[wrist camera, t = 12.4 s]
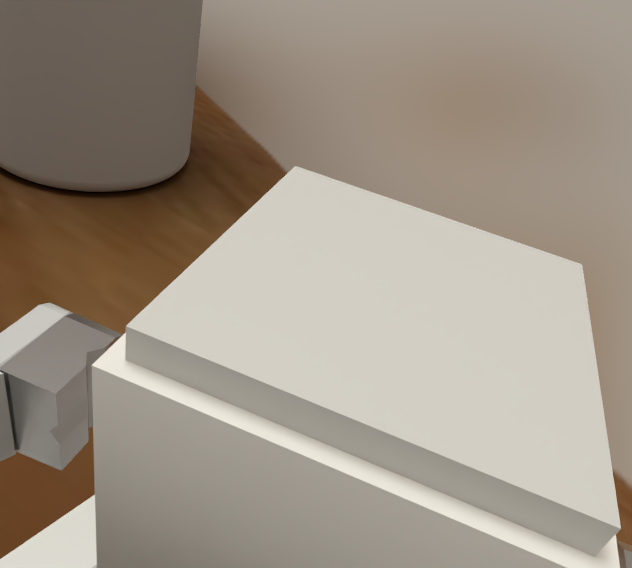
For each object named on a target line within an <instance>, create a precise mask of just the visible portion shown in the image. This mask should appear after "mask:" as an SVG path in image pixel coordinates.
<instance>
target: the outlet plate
mask: <svg viewBox="0 0 632 568" xmlns="http://www.w3.org/2000/svg"><path fill="white" fill-rule="evenodd" d="M0 568H97V554H96V516H95V495H94V496H92V497H91V498H89V499H88V500H86V501H85V502H83V503H82V504H80V505H79V506H78V507H76V508H75V509H73V510H72V511H70V512H69V513H67V514H66V515H64V516H63V517H61V518H60V519H59V520H57V521H56V522H54V523H53V524H51V525H50V526H48V527H47V528H45V529H44V530H42V531H41V532H40V533H38V534H37V535H35V536H34V537H32V538H31V539H29V540H28V541H26V542H25V543H23V544H22V545H21V546H19V547H18V548H16V549H15V550H13V551H12V552H10V553H9V554H7V555H6V556H4V557H3V558H2V559H0Z"/></svg>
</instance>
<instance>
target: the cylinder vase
mask: <svg viewBox="0 0 632 568" xmlns="http://www.w3.org/2000/svg"><path fill="white" fill-rule="evenodd" d="M202 2H203V0H0V167H2V168H3V169H5V170H7V171H8V172H10V173H12V174H14V175H16V176H19V177H21V178H24V179H26V180H29V181H32V182H35V183H39V184H42V185H46V186H51V187H56V188H61V189H68V190H76V191H89V192H112V191H124V190H132V189H138V188H142V187H147V186H150V185H153V184H156V183H159V182H161V181H164V180H166V179H168V178H170V177H171V176H173V175H174V174H176V173H177V172H178V171H179V170H180V169H181V168H182V167H183V166H184V164H185V163H186V161H187V159H188V156H189V152H190V141H191V130H192V118H193V107H194V95H195V83H196V72H197V60H198V48H199V37H200V26H201V13H202Z"/></svg>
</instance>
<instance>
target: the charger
mask: <svg viewBox="0 0 632 568" xmlns="http://www.w3.org/2000/svg"><path fill="white" fill-rule="evenodd" d="M92 402H93V440H94V478H95V516H96V554H97V568H620V563H619V556H618V548H617V541H616V533H617V532H618V531H619V530H620V529H621V526H620V520H619V513H618V506H617V499H616V492H615V486H614V479H613V472H612V465H611V459H610V452H609V445H608V438H607V432H606V424H605V418H604V411H603V404H602V398H601V390H600V384H599V377H598V370H597V363H596V356H595V350H594V343H593V337H592V330H591V323H590V316H589V309H588V302H587V296H586V288H585V282H584V275H583V268H582V264H579V263H576V262H573V261H570V260H567V259H564V258H561V257H559V256H555V255H553V254H549V253H547V252H544V251H541V250H538V249H535V248H532V247H529V246H526V245H524V244H521V243H518V242H515V241H512V240H509V239H506V238H503V237H500V236H498V235H494V234H492V233H489V232H486V231H483V230H480V229H477V228H474V227H471V226H469V225H465V224H462V223H460V222H457V221H454V220H451V219H448V218H445V217H442V216H439V215H437V214H434V213H431V212H428V211H425V210H422V209H419V208H416V207H413V206H410V205H407V204H405V203H401V202H399V201H396V200H393V199H390V198H387V197H384V196H381V195H378V194H376V193H372V192H369V191H367V190H364V189H361V188H358V187H355V186H352V185H349V184H346V183H343V182H341V181H338V180H334V179H332V178H329V177H326V176H323V175H320V174H317V173H314V172H312V171H309V170H306V169H303V168H299V167H297V166H295V167H294V168H293V169H292V170H291V171H290V172H288V173H287V174H286V175H285V176H284V177H283V178H282V179H281V180H280V181H279V182H278V183H277V184H276V185H275V186H274V187H273V188H272V189H270V190H269V191H268V192H267V193H266V194H265V195H264V196H263V197H262V198H261V199H260V200H259V201H258V202H257V203H256V204H255V205H254V206H252V207H251V208H250V209H249V210H248V211H247V212H246V213H245V214H244V215H243V216H242V217H241V218H240V219H239V220H238V221H237V222H236V223H235V224H233V225H232V226H231V227H230V228H229V229H228V230H227V231H226V232H225V233H224V234H223V235H222V236H221V237H220V238H219V239H218V240H217V241H215V242H214V243H213V244H212V245H211V246H210V247H209V248H208V249H207V250H206V251H205V252H204V253H203V254H202V255H201V256H200V257H199V258H197V259H196V260H195V261H194V262H193V263H192V264H191V265H190V266H189V267H188V268H187V269H186V270H185V271H184V272H183V273H182V274H181V275H179V276H178V277H177V278H176V279H175V280H174V281H173V282H172V283H171V284H170V285H169V286H168V287H167V288H166V289H165V290H164V291H163V292H161V293H160V294H159V295H158V296H157V297H156V298H155V299H154V300H153V301H152V302H151V303H150V304H149V305H148V306H147V307H146V308H145V309H143V310H142V311H141V312H140V313H139V314H138V315H137V316H136V317H135V318H134V319H133V320H132V321H131V322H130V323H129V324H128V325H127V326H126V333H125V334H124V335H123V336H121V337H120V338H119V339H118V340H117V341H116V342H115V343H114V344H113V345H112V346H111V347H110V348H109V349H108V350H107V351H106V352H105V353H104V354H103V355H102V356H101V357H100V358H99V359H98V360H96V361H95V362H94V363H93V364H92Z"/></svg>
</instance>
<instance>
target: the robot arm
mask: <svg viewBox="0 0 632 568" xmlns="http://www.w3.org/2000/svg"><path fill="white" fill-rule="evenodd" d="M121 336H123V335H122V334H119V333H117V332H115V331H113V330H111V329H108V328H106V327H104V326H102V325H99V324H97V323H95V322H93V321H91V320H88V319H86V318H84V317H82V316H79V315H77V314H75V313H72V312H70V311H67V310H65V309H63V308H61V307H58V306H56V305H54V304H52V303H46V304H41V305H39V306H37V307H36V308H34V309H33V310H31V311H30V312H29V313H27V314H26V315H25V316H23V317H22V318H20V319H19V320H18V321H16V322H15V323H14V324H12V325H11V326H9V327H8V328H7V329H5V330H4V331H2V332H1V333H0V461H2V460H4V459H6V458H8V457H11V456H13V455H15V454H16V451H17V452H19V453H22V454H24V455H26V456H29V457H31V458H33V459H35V460H38V461H40V462H42V463H45V464H47V465H49V466H52V467H54V468H56V469H59V470H61V471H62V470H63V469H64V468H65V466H66V465H67V464H68V463H69V462H70V461H71V460H72V459H73V458H74V456H75V455H76V454H77V453H78V452H79V451H80V450H81V449H82V448H83V447H84V445H85V444H86V443H87V442H88V441H89V428H90V427H93V402H92V364H93V363H94V362H95V361H96V360H98V359H99V358H100V357H101V356H102V355H103V354H104V353H105V352H106V351H107V350H108V349H109V348H110V347H111V346H112V345H113V344H114V343H115V342H116V341H117V340H118V339H119V338H120V337H121ZM616 541H617V540H616ZM617 548H618V556H619V563H620V568H632V546H629V545H627V544H624V543H622V542H619V541H617Z"/></svg>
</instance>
